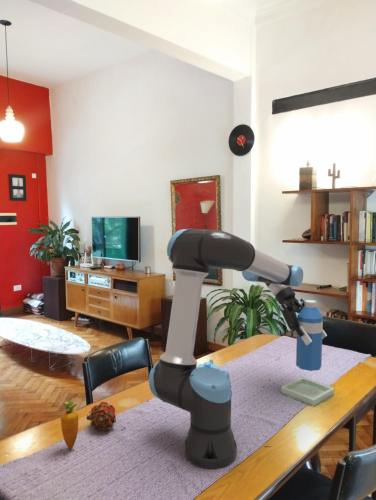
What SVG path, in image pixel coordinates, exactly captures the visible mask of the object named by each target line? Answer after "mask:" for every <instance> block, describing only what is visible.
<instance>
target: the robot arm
mask: <svg viewBox="0 0 376 500" xmlns="http://www.w3.org/2000/svg"><path fill="white" fill-rule="evenodd" d="M166 256H168V260H169V261H170V263H172V265H171V266H172V267H171V268H172V271H173V273H174V274H175V282H174V288H173V293H172V301H171V302H172V303H171V310H170V315H169V316H170V317H169V325H168V331H167V338H166V339H167V340H166V346H165V352H164V353H162V354H161V355H160V356H159V360H158V361H157V362H155V363H154V364H153V368H151V369H150V371H149V375H148V386H149V390H150V391H151V394H152V395H153V396H154V397H155V398H157V399H159V400H160V401H162V402H163V403H166V404H169V405H172V406H174V407H176V408H179V409H181V410H183V411H186V412H188V413H189V415H190V419H189V421H190V425H189V429H188V431H187V435H186V438H185V441H184V446H183V449H184V453H183V454H184V457H186V459H187V460H188V461H189V463H191V464H193V465H195V466H197V467H200V468H203V469H204V468H205V469H219V468H224V467H227V466H229V465H230V464H232V463H233V462H234V461H235V460H236V458H237V456H238V455H237V453H238V449H237V448H238V446H237V441H236V440H235V435H234V432H233V429H232V395H233V391H232V382H231V379H230V377H228V376H227V374H226V373H224V372H223V371H221V370H222V369H220V370H218V369H216V368H212V367H210V368H207V367H199V368H196V367H197V366H198V365H197V364H198V361H197V359H196V358H195V356H194V351H195V350H194V349H195V342H196V335H197V330H198V329H197V328H198V327H197V326H198V321H199V313H200V304H201V297H202V290H203V284H204V283H203V282H204V279H205V278H206V277H207V276H208V275H210V269H214V270H215V269H216V270H217V269H218V270H219V269H221V270H234V271H237V272H241V274H242V277H243V279H244V280H246V281H248V282H253V283H254V282H255V283H256V282H257V283H264V284H265V286H266V288H268V289H269V292H270V293H271V295H272V296H273V297H274V298H275V301H277V303H278V304H279V307H277V308H278V309H279V311H280V313H281V314H282V316H283V318H284V320H285V322H286V325H287V327H288V329H289V330H291V331H292V332H296V334H297V333H298V335H299V336H300V337H301V338H302V340H303V341H304V343H305V344H306V345H308V344H309V343H311V342H312V340H311V338H310V337H309V336H308V334H307V333H306V331H305V330H304V329H303V327H302V326H300V325H299V322H298V319H297V314H299V313H300V311H301V310H302V309H303V308H304V306H305V300H304V299H303V298H300V299H299V300H298V299H297V297H296V292H295V291H294V289H293V287H297V288H298V287H299V286H301V285H302V283H303V280H304V270H303V268H302V266H299V265H295V264H287V263H285V262H283V261H281V260H279V259H276V258H275V257H274V256H273V257H272V256H271V255H268V254H266V253H264V252H262V251H260V250H258V249H256V248H255V246H254V245H253V244H252V243H251V242H250V241H247V240H246V239H244V238H241V237H239V236H237V235H235V234H232V233H229V232H227V231H223V230H220V229H202V228H186V229H183V228H182V229H179V230H177V231H175V233H173V234H172V236H171V237H170V238H169V240H168V243H167V246H166ZM299 326H300V327H299ZM327 336H328V335H327V333H326V332H325V329H323V330H322V340H323V339H324V338H326V337H327Z"/></svg>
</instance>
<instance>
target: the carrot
mask: <svg viewBox="0 0 376 500" xmlns="http://www.w3.org/2000/svg"><path fill="white" fill-rule="evenodd" d="M74 400H75V399H74V398H71V399H70V403H69V402H68V401H64V407H65V410H64V411H63V412H62V413H60V424H61V425H60V426H61V433H62V436H63V440H64V443H65V445H66V447H67V448H68V449H69V450H71V449H73V448H74V446H75V444H76V440H77V437H78V432H79V414H78V412H77V410H76V409H74V408H75V407H77V406H78V405H79V404H78V403H77V402H75V403H74Z"/></svg>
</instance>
